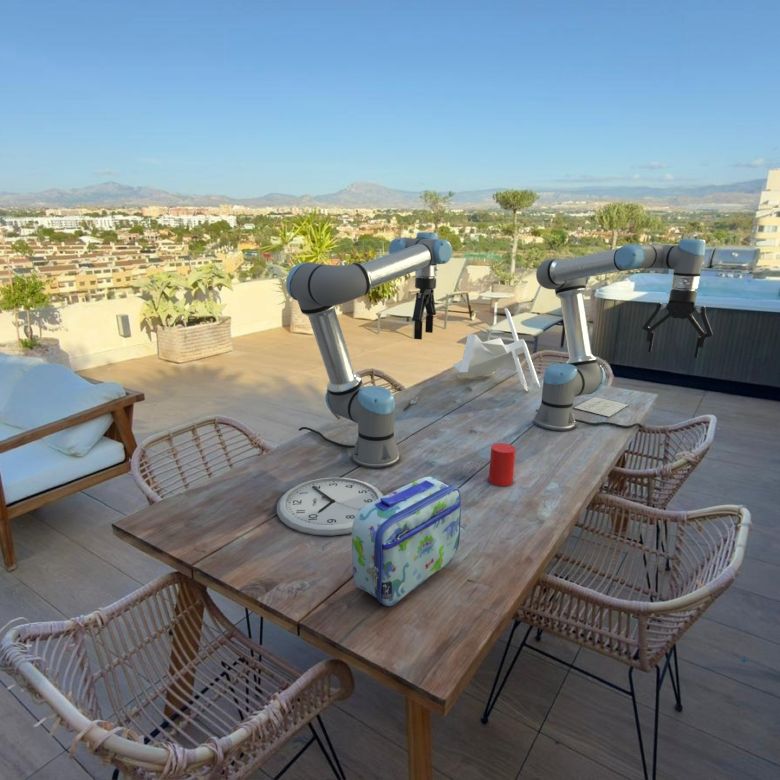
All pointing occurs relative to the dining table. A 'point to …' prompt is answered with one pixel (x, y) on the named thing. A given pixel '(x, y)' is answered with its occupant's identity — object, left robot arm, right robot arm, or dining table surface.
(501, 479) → the canister
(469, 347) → the white plastic object
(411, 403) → the fork
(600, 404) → the invitation card
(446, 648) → the dining table surface
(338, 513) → the wall clock
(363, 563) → the lunch box
